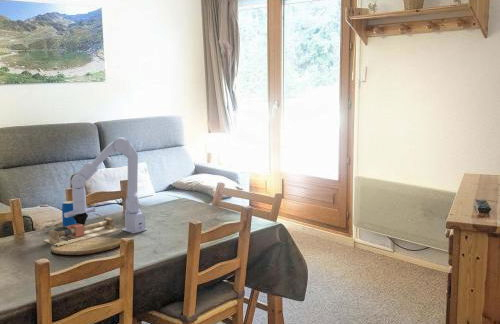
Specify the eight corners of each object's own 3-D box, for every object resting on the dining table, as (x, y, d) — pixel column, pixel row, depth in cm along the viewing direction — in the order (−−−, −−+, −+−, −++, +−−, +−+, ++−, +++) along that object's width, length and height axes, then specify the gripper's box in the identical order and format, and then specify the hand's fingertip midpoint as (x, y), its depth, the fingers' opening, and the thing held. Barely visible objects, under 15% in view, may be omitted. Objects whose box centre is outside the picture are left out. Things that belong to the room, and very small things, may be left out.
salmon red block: (76, 232, 226) (75, 222, 226) (84, 235, 222) (83, 225, 221) (68, 234, 223) (67, 224, 223) (76, 237, 219) (75, 227, 218)
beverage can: (73, 228, 236) (73, 203, 234) (60, 227, 236) (59, 203, 235) (79, 225, 242) (78, 201, 241) (66, 224, 243) (65, 200, 241)
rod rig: (104, 226, 239) (104, 215, 239) (119, 230, 232) (118, 220, 231) (44, 241, 216) (43, 229, 216) (58, 246, 209) (57, 234, 208)
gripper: (88, 197, 232) (90, 224, 234) (59, 202, 222) (61, 231, 224) (97, 199, 228) (98, 227, 230) (68, 204, 217) (70, 234, 219)
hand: (81, 229), depth 226 cm, fingers closed
